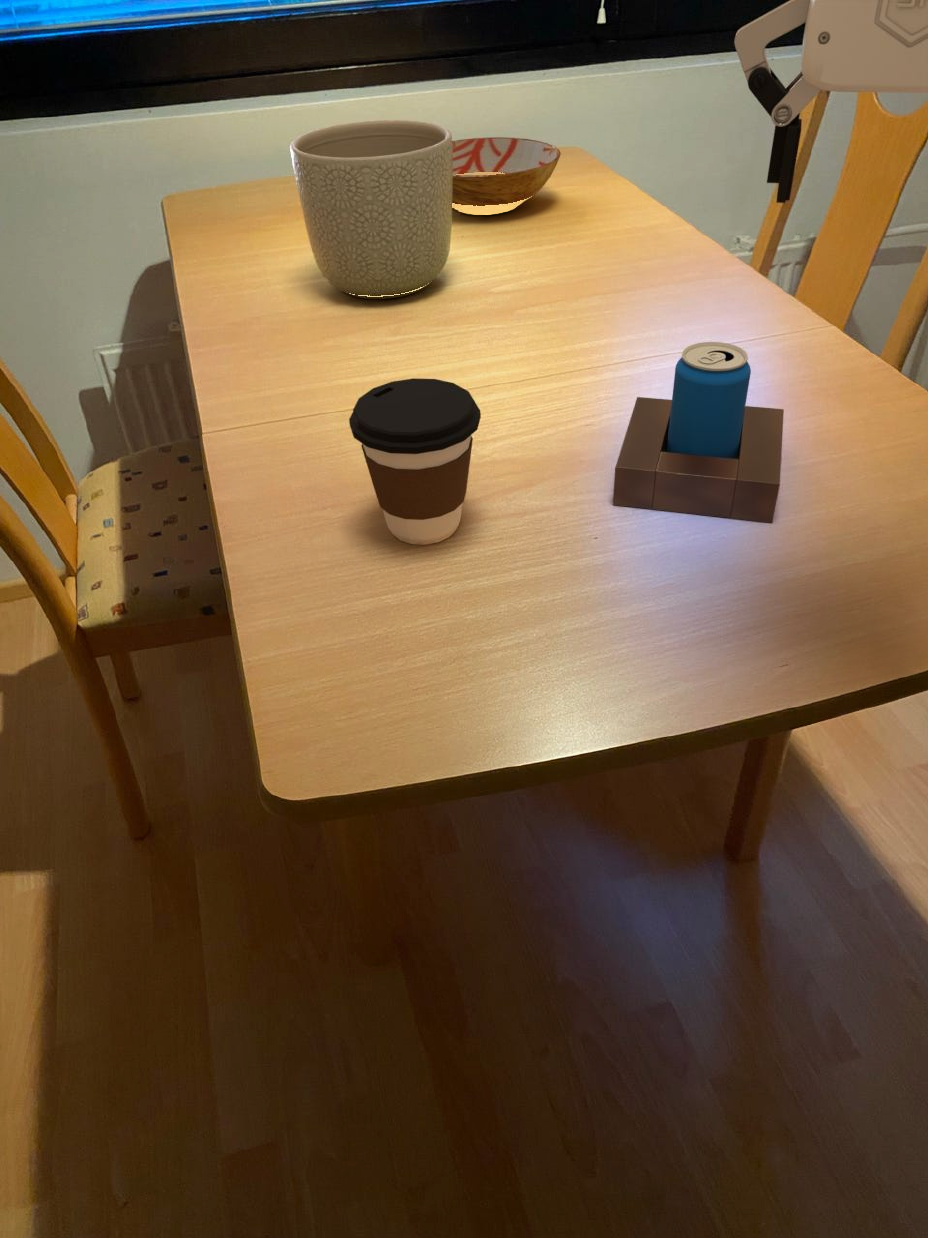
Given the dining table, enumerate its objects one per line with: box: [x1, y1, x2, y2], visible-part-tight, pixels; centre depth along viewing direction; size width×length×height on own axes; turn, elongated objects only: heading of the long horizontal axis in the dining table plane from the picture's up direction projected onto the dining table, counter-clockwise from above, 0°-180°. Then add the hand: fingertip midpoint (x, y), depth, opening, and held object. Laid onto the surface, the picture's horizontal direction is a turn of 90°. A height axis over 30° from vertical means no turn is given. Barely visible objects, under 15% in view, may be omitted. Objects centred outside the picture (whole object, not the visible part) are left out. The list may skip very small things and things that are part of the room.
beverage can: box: [667, 341, 752, 459], centre depth 85 cm, size 6×6×12 cm
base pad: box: [612, 396, 785, 524], centre depth 87 cm, size 14×14×4 cm
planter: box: [289, 119, 453, 300], centre depth 126 cm, size 21×21×19 cm
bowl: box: [452, 136, 562, 206], centre depth 156 cm, size 25×25×8 cm
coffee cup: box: [348, 377, 482, 546], centre depth 80 cm, size 11×11×12 cm
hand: (869, 198), depth 54 cm, fingers open, 9 cm apart
